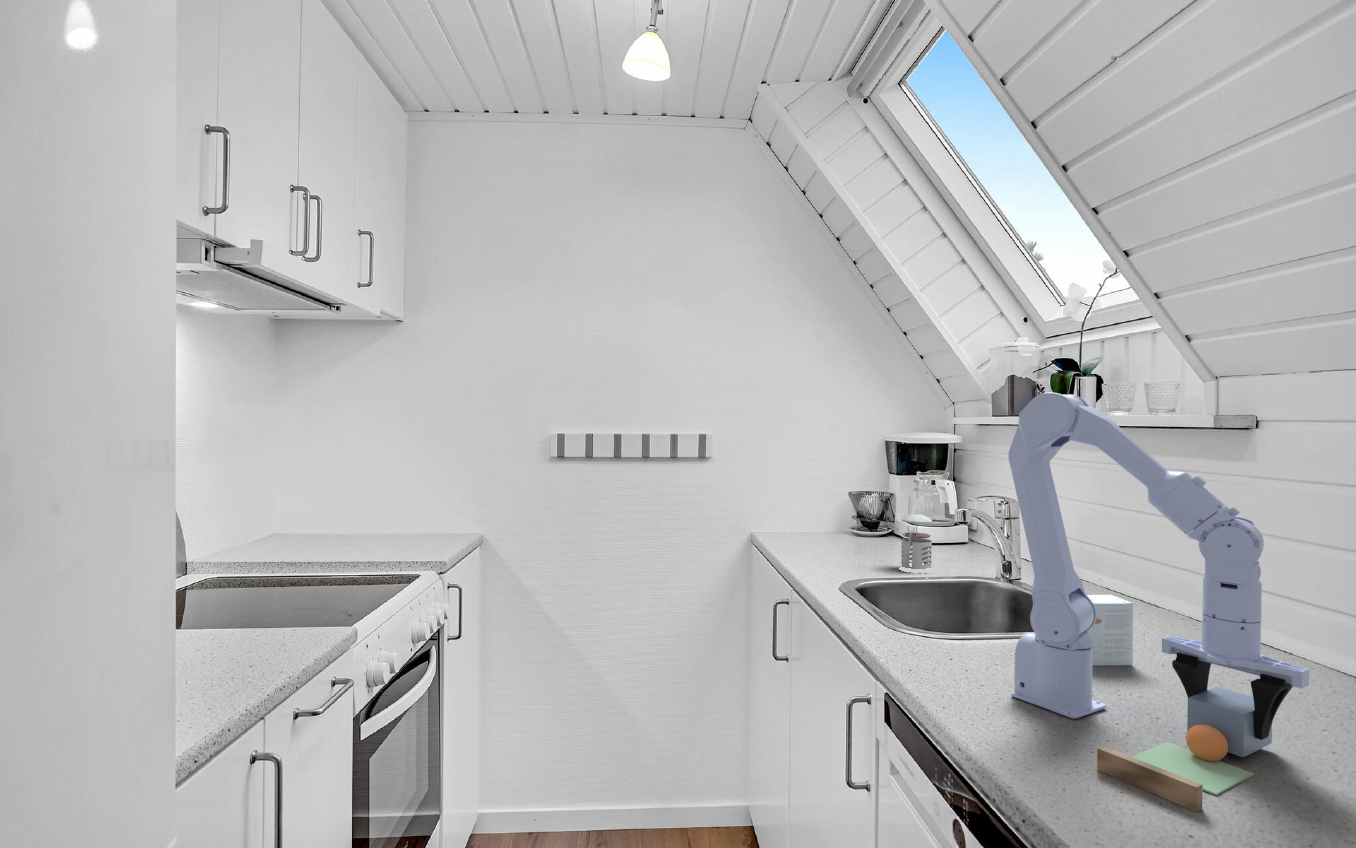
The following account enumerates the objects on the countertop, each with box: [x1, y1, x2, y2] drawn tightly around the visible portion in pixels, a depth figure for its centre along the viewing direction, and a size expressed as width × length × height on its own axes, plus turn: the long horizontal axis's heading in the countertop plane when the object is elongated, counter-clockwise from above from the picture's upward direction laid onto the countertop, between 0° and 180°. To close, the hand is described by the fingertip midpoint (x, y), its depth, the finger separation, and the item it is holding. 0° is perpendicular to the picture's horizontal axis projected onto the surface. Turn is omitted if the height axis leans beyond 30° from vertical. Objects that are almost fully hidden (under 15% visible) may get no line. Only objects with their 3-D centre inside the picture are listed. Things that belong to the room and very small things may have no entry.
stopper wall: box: [1096, 745, 1203, 813], centre depth 77 cm, size 10×1×2 cm, turn 30°
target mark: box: [1132, 741, 1255, 796], centre depth 81 cm, size 9×9×1 cm
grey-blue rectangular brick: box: [1186, 686, 1273, 758], centre depth 87 cm, size 6×8×5 cm
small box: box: [1087, 594, 1134, 667], centre depth 119 cm, size 8×6×10 cm
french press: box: [900, 477, 933, 569], centre depth 190 cm, size 10×12×25 cm
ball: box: [1185, 724, 1228, 761], centre depth 83 cm, size 4×4×4 cm
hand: (1229, 727), depth 87 cm, fingers closed on grey-blue rectangular brick, 6 cm apart
